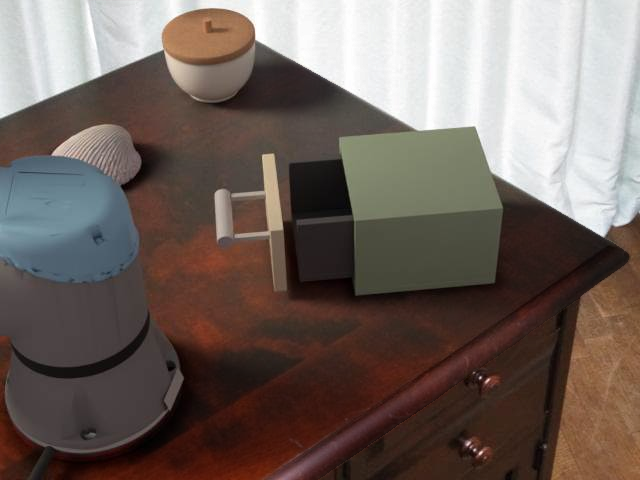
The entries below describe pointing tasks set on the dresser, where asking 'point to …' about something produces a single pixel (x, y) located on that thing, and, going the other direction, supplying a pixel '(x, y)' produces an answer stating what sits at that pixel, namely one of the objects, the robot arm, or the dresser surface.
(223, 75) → the trinket box
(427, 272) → the cabinet
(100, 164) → the seashell
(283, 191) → the dresser surface
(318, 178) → the drawer
